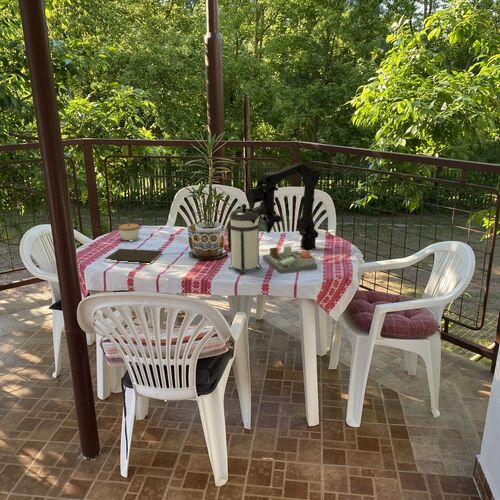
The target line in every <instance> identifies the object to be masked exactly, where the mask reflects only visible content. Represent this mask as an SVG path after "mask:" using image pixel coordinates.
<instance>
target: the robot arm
mask: <svg viewBox="0 0 500 500" xmlns="http://www.w3.org/2000/svg"><path fill="white" fill-rule="evenodd" d="M297 174H298V175H300V176H301V179H302V180H301V181H302V183H303V186H304V187H303V188H304V189H303V202H302V213H301V216H300V218H297V219H296V229H297V231H298V233H299V236H301V239H300V248H302V249H303V250H304V251H310V250H316V249H318V248H317V246H316V240H317V239H316V238H319V237H318V236H319V232H318V231H317V230H316V228H315V221H314V219H313V209H314V198H315V191H316V190H315V189H316V187H317V186H318V184H319V182H320V178H321V177H320V172H319V171H318V170H316V169H312V168H310V167H308V166H306V165H305V164H304V163H301V162H296V163H294V164H292V165H290V166H287V167H284V168H281V169H279V170H276V171H269V172H264V173H262V174H260V178H259V180H258V182H257V183H256V185H255V187H249V188H248V191H247V193H246V200H247V202H248V203H249V204H256V203H259V205H258V206H255V207H254V208H252V209H253V210H255V211H256V212H257V213H258V215H259V218H260V220H262V221H263V223H264V226H265V229H266V233H267V234H270V233H271V231H272V229H273V226H274V225H275V223H280V222H282V219H283V218H282V216H281V215H280V214H277V212H276V210H275V206H276V205H277V202H275V191H279V188H278V187H276V185H278V184H279V183H280V182H281V181H282V180H284V179H288V178H290V177H291V176H294V175H297ZM260 216H261V217H260Z"/></svg>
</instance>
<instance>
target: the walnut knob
mask: <svg viewBox="0 0 500 500" xmlns="http://www.w3.org/2000/svg"><path fill="white" fill-rule="evenodd" d="M269 254H270V256H271V257H272V258H275V257H278V254H279V248H277V247H270V248H269Z"/></svg>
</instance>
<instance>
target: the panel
mask: <svg viewBox="0 0 500 500" xmlns="http://www.w3.org/2000/svg"><path fill="white" fill-rule="evenodd" d="M291 256H292V257H293V258H295V261H294V262H291V263H289V264H286V265H284V266H283V265H282V264H281V263H280V261H282V260H284V259H286V258H289V257H291ZM262 260H263V261H264V262H265V263H266V264H268V265H269V266H270V267H271V268H272V269H274V270H275V271H276V272H278V274H280V275H281V274H287V273H294V272H300V271H307V270H315V269H318V264H317V263H316V257H315V256H314V255H311V254H310V258H307V259H302V258H301V252H300V251H298V250H296V251H295V250H294V251H292V255H290V256H286V255H284V251H283V252H278V257H275V258H272V257H271V256H270V253H269V254H268V253H267V254H264V255H262Z"/></svg>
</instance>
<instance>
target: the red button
mask: <svg viewBox="0 0 500 500" xmlns="http://www.w3.org/2000/svg"><path fill="white" fill-rule="evenodd" d="M300 253H301V258H302V259H307V258H310V255H311V251H310V250H302V251H301V252H300Z"/></svg>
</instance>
